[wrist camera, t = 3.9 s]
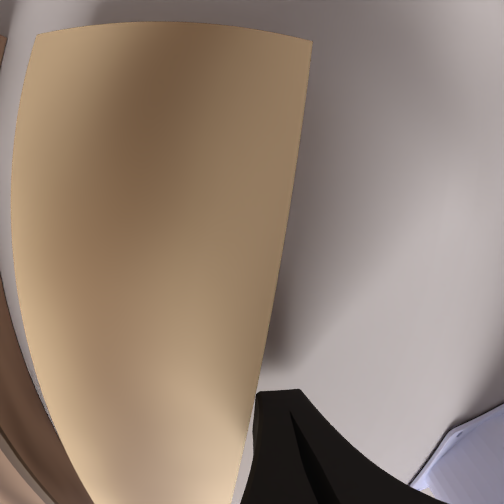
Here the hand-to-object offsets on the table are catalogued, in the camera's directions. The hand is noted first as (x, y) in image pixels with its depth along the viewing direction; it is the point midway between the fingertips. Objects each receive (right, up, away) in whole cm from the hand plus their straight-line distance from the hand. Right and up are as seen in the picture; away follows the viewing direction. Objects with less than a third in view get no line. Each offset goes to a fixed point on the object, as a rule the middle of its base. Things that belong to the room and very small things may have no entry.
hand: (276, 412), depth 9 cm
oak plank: (-4, +1, +1) cm, 4 cm away
